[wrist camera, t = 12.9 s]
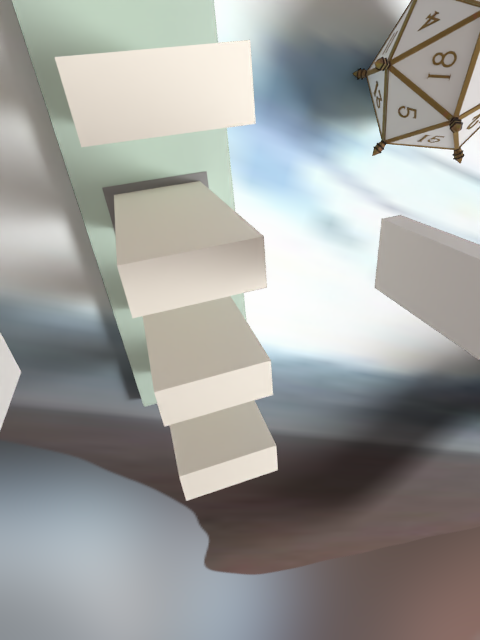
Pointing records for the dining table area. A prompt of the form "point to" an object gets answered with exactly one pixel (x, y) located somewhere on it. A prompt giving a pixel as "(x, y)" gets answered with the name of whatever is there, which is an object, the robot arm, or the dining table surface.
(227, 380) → the domino
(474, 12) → the game die
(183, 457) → the domino
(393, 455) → the dining table surface
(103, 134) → the domino
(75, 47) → the board
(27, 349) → the dining table surface
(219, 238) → the domino
